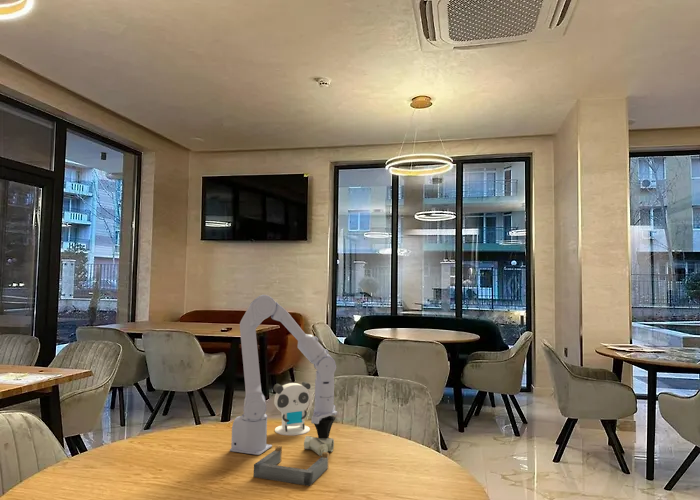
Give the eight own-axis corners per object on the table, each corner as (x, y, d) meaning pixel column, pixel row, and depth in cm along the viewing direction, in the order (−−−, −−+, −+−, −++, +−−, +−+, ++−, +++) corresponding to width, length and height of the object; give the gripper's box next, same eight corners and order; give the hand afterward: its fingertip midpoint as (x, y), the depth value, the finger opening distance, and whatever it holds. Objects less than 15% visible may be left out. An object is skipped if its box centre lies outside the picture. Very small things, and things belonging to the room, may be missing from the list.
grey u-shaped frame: (253, 477, 119) (254, 461, 119) (276, 460, 130) (276, 445, 130) (309, 485, 114) (310, 469, 114) (328, 467, 125) (328, 452, 126)
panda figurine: (278, 437, 150) (279, 388, 151) (268, 427, 160) (270, 381, 161) (314, 433, 155) (315, 385, 156) (303, 423, 165) (304, 379, 166)
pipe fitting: (327, 459, 133) (334, 449, 140) (327, 445, 133) (334, 436, 140) (300, 456, 135) (307, 447, 142) (300, 442, 135) (307, 433, 142)
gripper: (328, 402, 135) (327, 452, 134) (345, 391, 149) (344, 436, 148) (305, 399, 138) (303, 449, 137) (323, 389, 151) (322, 434, 150)
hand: (323, 442), depth 142 cm, fingers closed
